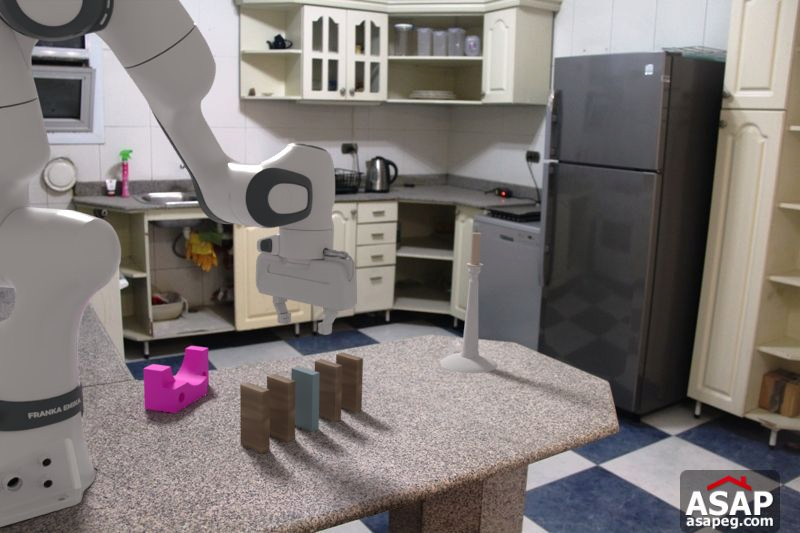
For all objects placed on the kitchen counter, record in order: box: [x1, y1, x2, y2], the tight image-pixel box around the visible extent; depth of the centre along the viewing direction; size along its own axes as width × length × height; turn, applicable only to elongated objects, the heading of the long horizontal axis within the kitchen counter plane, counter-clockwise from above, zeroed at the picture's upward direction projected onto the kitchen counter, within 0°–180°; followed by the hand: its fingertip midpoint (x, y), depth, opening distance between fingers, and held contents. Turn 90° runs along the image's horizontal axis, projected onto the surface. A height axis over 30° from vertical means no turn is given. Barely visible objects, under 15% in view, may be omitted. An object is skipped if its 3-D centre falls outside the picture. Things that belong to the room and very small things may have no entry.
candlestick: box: [439, 230, 499, 374], centre depth 155 cm, size 13×13×30 cm
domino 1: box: [239, 381, 270, 454], centre depth 114 cm, size 2×5×10 cm, turn 52°
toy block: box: [143, 345, 210, 414], centre depth 134 cm, size 15×6×8 cm, turn 163°
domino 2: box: [266, 373, 296, 443], centre depth 118 cm, size 2×5×10 cm, turn 52°
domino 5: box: [335, 352, 364, 413], centre depth 131 cm, size 2×5×10 cm, turn 52°
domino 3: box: [290, 365, 320, 433], centre depth 122 cm, size 2×5×10 cm, turn 52°
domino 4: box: [314, 358, 342, 423], centre depth 126 cm, size 2×5×10 cm, turn 52°
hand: (304, 328), depth 120 cm, fingers open, 8 cm apart
